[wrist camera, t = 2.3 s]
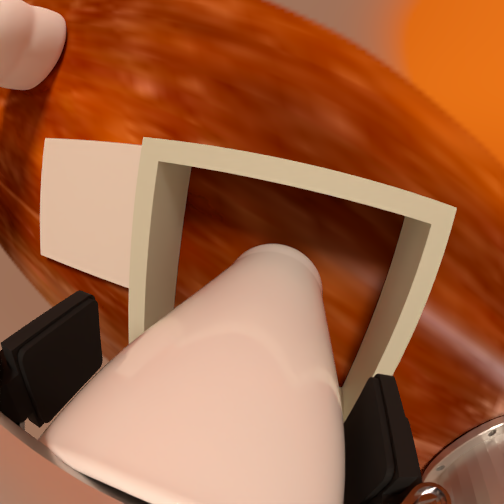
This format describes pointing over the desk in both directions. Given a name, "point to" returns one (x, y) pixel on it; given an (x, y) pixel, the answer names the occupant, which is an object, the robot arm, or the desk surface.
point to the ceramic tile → (89, 205)
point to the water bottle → (28, 43)
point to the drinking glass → (219, 396)
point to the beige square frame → (301, 176)
